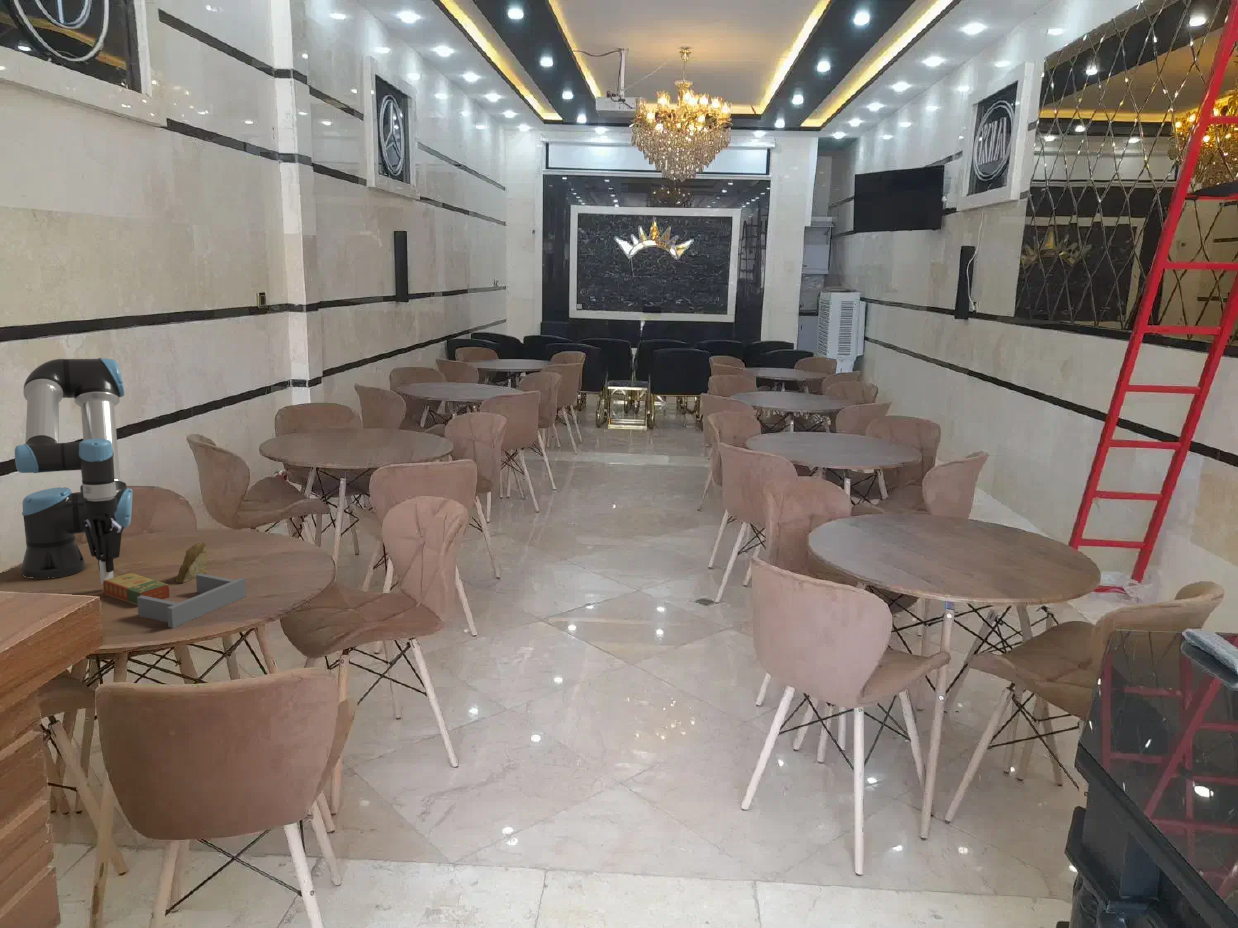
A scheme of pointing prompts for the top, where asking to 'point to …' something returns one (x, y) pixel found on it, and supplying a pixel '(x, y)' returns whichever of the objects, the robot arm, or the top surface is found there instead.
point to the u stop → (193, 600)
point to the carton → (135, 588)
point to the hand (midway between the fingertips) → (107, 582)
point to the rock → (193, 563)
